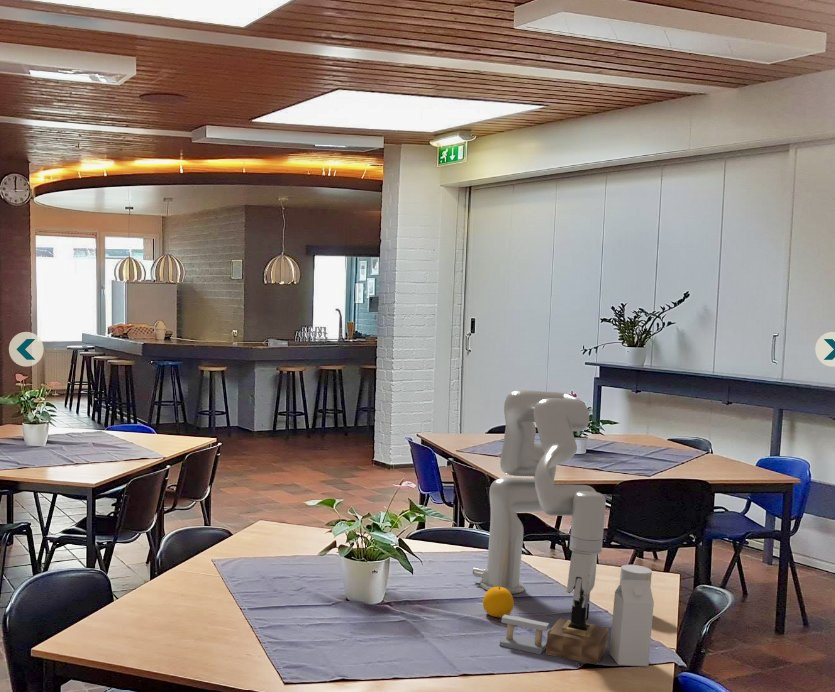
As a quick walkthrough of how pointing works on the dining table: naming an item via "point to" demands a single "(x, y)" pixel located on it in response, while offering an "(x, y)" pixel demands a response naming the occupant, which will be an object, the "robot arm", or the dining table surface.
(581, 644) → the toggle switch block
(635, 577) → the light grey cylinder
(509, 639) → the peg rack
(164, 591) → the dining table surface
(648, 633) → the milk carton
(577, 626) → the pin
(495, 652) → the dining table surface
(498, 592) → the orange fruit
